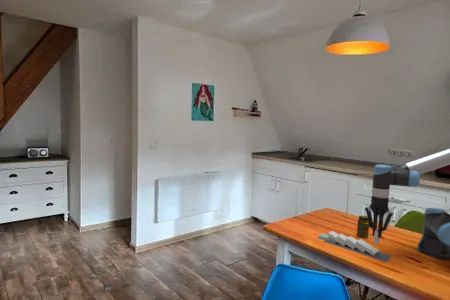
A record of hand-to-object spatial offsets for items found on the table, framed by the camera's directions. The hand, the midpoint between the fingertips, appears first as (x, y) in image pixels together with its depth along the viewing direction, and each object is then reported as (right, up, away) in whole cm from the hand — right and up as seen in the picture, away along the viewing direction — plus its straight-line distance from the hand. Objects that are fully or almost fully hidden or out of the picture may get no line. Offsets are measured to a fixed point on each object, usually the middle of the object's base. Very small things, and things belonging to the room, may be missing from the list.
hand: (376, 242), depth 152 cm
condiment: (+3, -4, +24) cm, 25 cm away
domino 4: (-3, -5, +4) cm, 7 cm away
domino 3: (-7, -4, +7) cm, 11 cm away
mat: (-7, -5, +7) cm, 11 cm away
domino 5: (0, -5, 0) cm, 5 cm away
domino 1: (-14, -3, +14) cm, 20 cm away
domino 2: (-10, -4, +11) cm, 16 cm away
